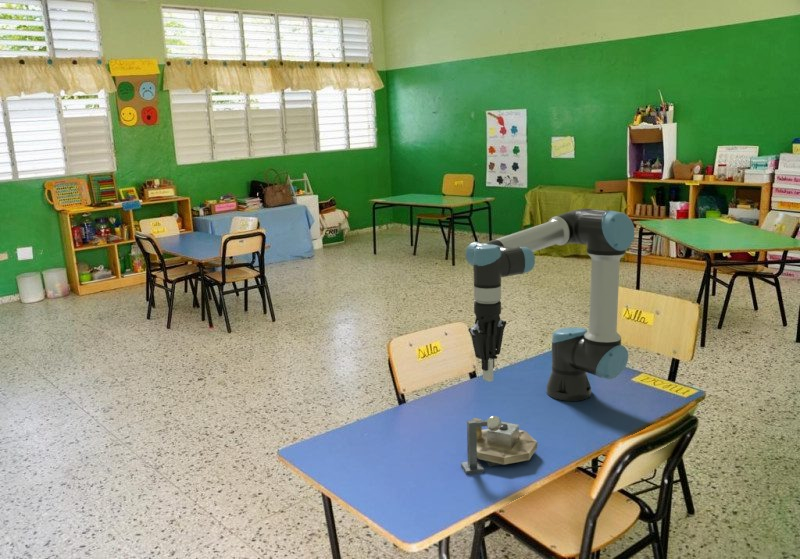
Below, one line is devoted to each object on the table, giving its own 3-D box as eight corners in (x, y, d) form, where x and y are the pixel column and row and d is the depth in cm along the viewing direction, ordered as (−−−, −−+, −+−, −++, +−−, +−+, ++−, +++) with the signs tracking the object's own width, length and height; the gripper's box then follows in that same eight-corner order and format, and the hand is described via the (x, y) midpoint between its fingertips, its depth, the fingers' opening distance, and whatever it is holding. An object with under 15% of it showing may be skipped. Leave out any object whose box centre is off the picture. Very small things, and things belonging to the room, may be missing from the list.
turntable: (483, 429, 203) (483, 408, 201) (542, 440, 194) (542, 418, 193) (460, 455, 188) (459, 432, 186) (522, 468, 179) (523, 444, 177)
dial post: (496, 460, 187) (496, 410, 184) (503, 469, 183) (503, 418, 179) (460, 465, 185) (459, 415, 182) (466, 474, 180) (465, 422, 177)
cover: (495, 433, 196) (495, 418, 195) (518, 437, 192) (518, 422, 191) (487, 443, 190) (487, 428, 189) (510, 448, 186) (510, 432, 185)
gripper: (494, 294, 194) (495, 371, 199) (461, 302, 186) (462, 382, 191) (513, 298, 188) (513, 377, 193) (479, 307, 180) (480, 389, 185)
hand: (488, 379), depth 192 cm, fingers closed
